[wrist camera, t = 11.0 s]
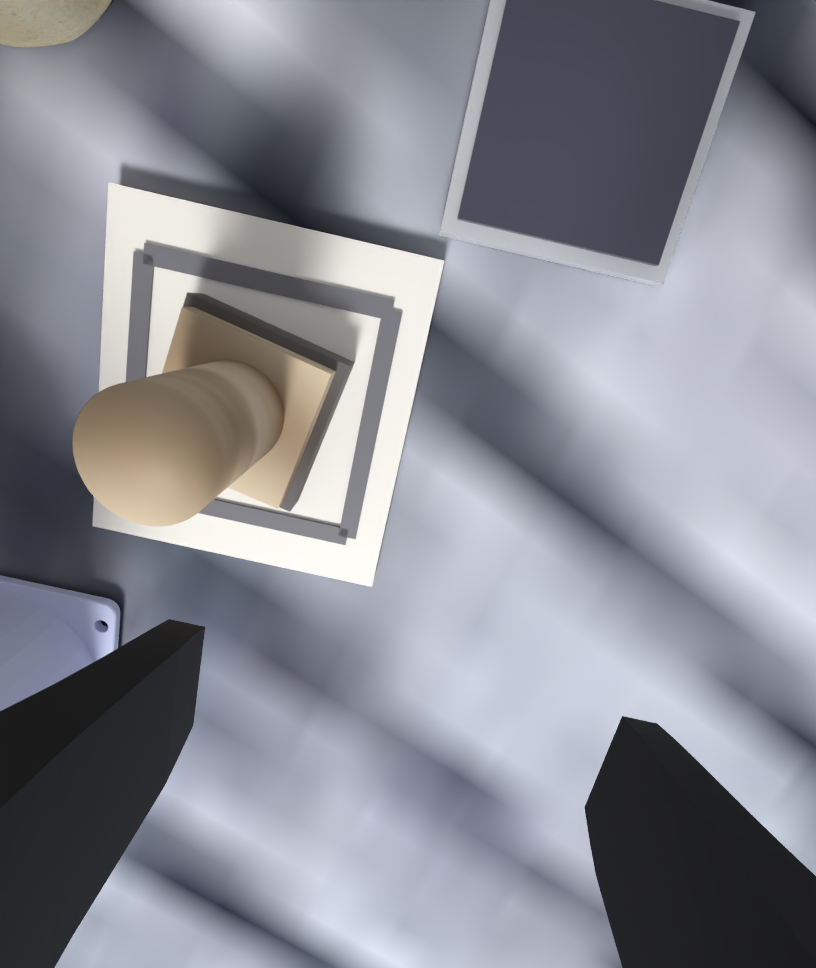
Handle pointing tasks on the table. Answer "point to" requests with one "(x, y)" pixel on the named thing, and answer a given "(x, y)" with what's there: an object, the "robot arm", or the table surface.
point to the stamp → (211, 419)
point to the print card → (300, 311)
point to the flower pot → (47, 20)
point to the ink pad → (592, 129)
